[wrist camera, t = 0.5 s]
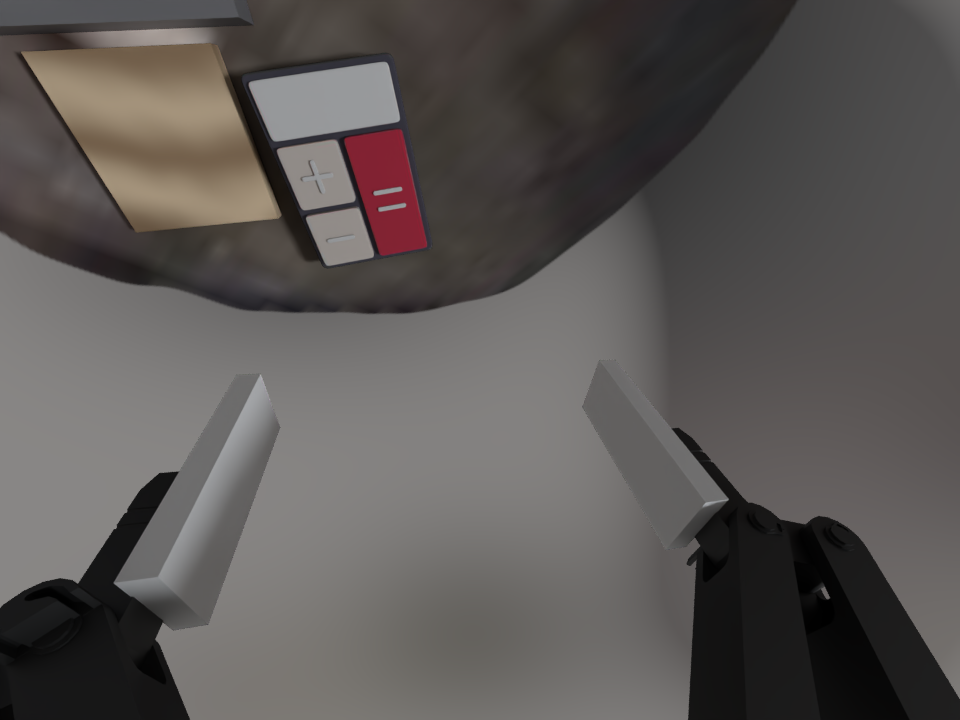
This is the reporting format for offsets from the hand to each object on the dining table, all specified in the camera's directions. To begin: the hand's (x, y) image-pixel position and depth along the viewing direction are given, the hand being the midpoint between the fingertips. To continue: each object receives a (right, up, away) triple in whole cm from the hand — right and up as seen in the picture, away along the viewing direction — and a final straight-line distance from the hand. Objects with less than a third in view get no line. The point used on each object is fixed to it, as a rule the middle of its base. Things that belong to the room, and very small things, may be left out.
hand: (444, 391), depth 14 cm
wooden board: (-24, +19, +15) cm, 34 cm away
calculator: (-10, +19, +18) cm, 28 cm away
